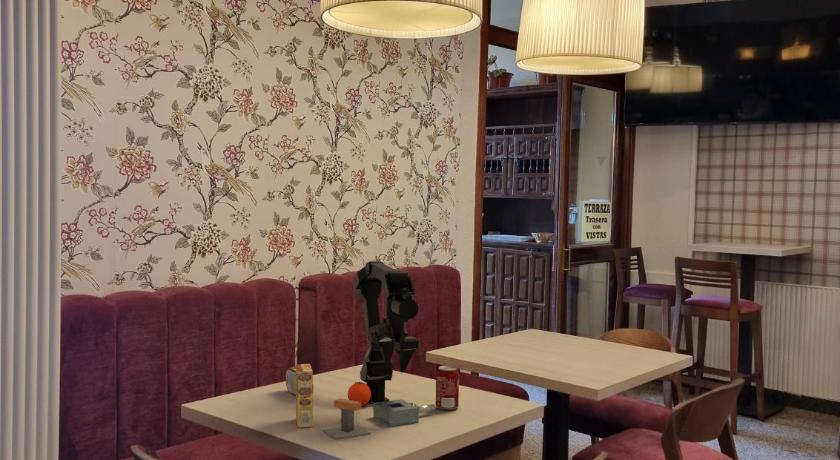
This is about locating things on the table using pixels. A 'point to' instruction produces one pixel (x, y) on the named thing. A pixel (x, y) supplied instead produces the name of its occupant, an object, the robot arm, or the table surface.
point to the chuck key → (347, 413)
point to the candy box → (304, 395)
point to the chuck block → (399, 412)
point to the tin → (291, 380)
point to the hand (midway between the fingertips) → (394, 368)
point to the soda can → (447, 388)
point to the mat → (339, 434)
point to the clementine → (359, 393)
